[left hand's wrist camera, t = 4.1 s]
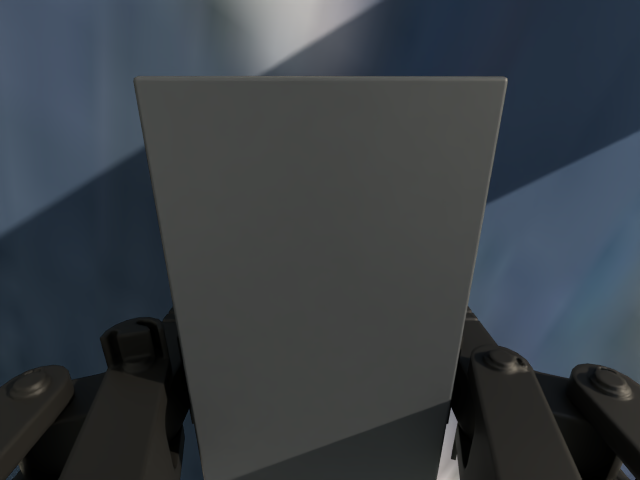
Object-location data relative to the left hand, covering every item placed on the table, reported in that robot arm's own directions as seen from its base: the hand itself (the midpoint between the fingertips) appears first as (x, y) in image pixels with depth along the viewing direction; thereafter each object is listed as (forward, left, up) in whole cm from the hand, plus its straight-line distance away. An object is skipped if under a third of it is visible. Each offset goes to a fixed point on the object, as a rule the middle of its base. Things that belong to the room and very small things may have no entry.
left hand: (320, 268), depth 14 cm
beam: (+23, +5, -1) cm, 23 cm away
